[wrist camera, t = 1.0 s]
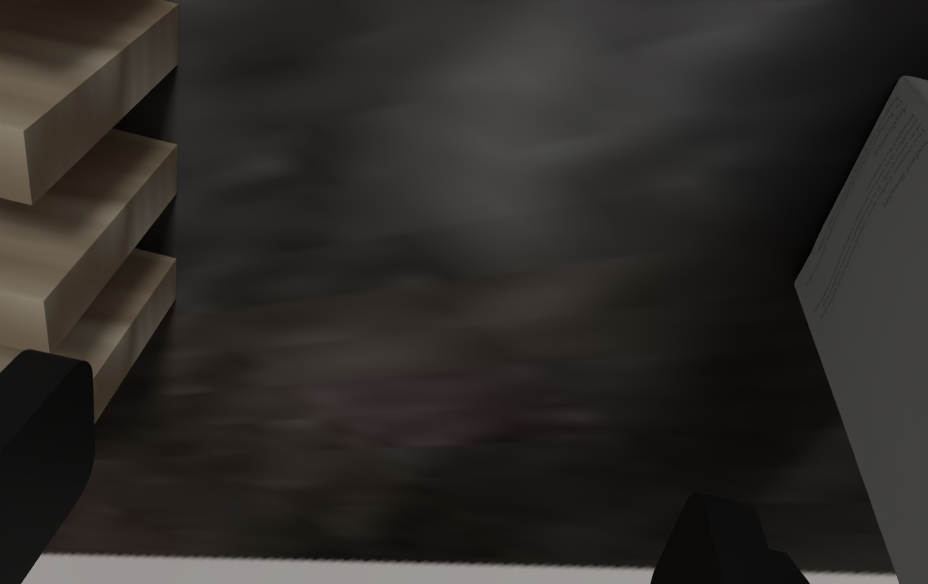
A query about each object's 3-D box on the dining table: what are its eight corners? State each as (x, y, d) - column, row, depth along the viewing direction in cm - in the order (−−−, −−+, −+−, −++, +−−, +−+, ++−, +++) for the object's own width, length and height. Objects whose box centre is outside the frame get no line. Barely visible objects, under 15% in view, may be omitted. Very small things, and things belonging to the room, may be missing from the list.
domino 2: (34, 108, 28) (-149, 254, 21) (177, 144, 29) (43, 301, 21) (40, 158, 30) (-132, 313, 22) (177, 192, 30) (50, 356, 23)
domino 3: (47, 226, 31) (-110, 389, 24) (176, 258, 32) (58, 429, 24) (51, 267, 33) (-97, 434, 25) (176, 298, 33) (63, 471, 26)
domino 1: (18, -38, 25) (-202, 74, 18) (178, 3, 26) (23, 131, 18) (25, 25, 27) (-179, 153, 19) (178, 63, 27) (32, 205, 20)
